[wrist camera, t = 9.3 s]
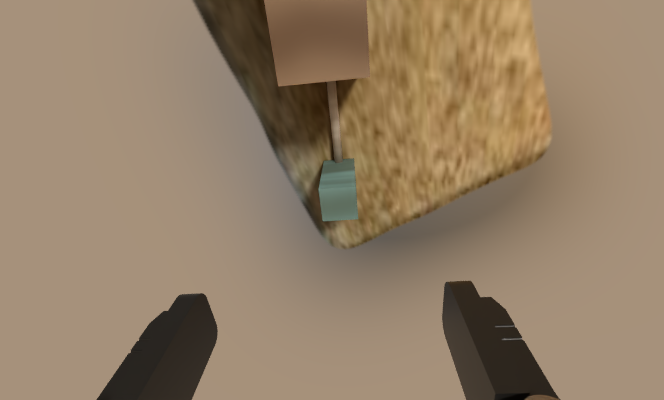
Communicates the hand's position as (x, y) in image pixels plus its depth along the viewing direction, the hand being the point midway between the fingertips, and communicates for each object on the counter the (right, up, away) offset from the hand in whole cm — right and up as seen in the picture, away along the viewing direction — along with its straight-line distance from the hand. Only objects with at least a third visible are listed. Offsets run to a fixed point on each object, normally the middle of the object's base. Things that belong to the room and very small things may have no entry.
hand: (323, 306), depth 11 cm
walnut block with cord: (0, +11, +15) cm, 19 cm away
